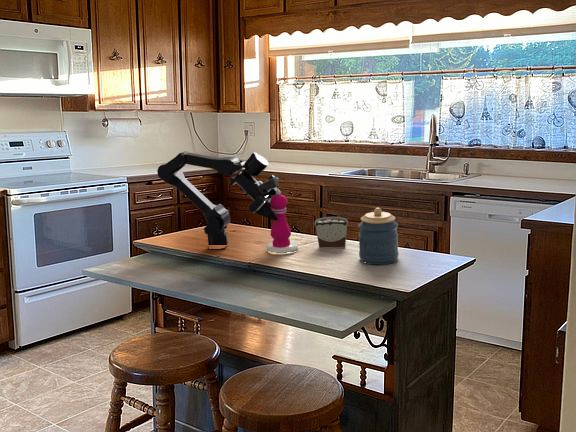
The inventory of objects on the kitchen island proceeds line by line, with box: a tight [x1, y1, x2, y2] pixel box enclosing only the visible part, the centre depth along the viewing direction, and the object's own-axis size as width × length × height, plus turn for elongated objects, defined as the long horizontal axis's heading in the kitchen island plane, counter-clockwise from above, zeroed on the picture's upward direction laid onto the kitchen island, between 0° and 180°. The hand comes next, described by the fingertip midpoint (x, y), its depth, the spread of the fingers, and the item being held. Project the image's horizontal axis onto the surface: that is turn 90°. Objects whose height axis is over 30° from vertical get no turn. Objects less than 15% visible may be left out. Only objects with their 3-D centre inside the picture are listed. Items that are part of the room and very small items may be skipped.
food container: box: [313, 216, 350, 249], centre depth 231 cm, size 12×6×10 cm, turn 84°
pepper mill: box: [270, 189, 292, 248], centre depth 226 cm, size 7×7×20 cm
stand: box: [266, 240, 299, 253], centre depth 229 cm, size 11×11×2 cm
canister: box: [357, 207, 399, 265], centre depth 212 cm, size 13×13×18 cm
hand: (281, 216), depth 226 cm, fingers open, 9 cm apart
